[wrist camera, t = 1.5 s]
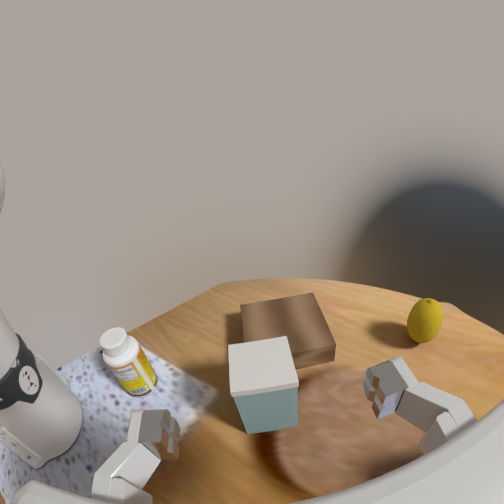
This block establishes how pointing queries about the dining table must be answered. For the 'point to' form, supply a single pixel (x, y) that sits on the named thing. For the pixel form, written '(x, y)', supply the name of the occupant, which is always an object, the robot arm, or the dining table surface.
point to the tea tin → (264, 384)
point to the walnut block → (291, 327)
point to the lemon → (425, 320)
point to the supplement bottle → (128, 362)
